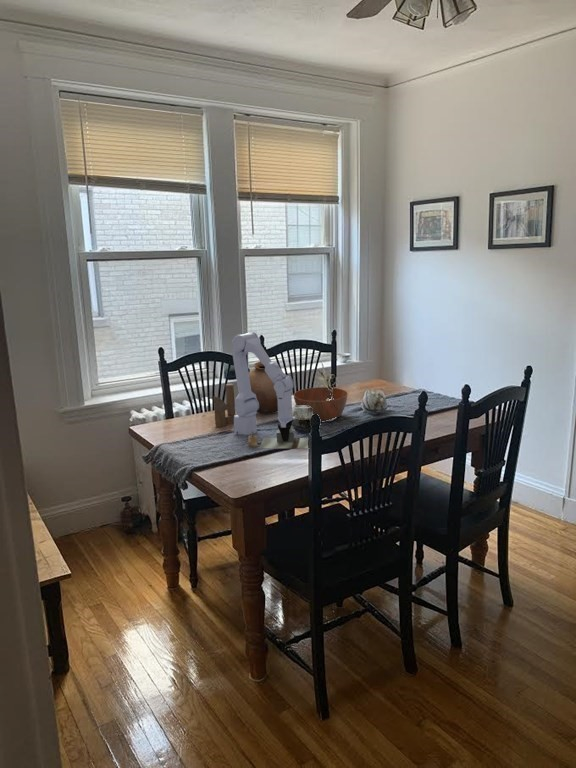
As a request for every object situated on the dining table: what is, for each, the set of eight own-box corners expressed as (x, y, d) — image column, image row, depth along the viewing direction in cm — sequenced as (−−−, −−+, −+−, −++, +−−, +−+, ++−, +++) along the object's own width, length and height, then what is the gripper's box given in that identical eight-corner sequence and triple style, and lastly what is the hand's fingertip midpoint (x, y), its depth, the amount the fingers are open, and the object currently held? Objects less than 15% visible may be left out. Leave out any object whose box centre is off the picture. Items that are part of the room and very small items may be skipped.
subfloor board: (259, 451, 225) (259, 448, 225) (264, 440, 237) (263, 438, 236) (309, 451, 223) (309, 448, 222) (312, 440, 234) (311, 438, 234)
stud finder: (277, 442, 231) (276, 431, 230) (278, 438, 235) (277, 428, 234) (294, 442, 230) (293, 431, 229) (295, 438, 234) (294, 428, 233)
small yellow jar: (248, 450, 227) (247, 433, 225) (249, 446, 230) (248, 430, 228) (257, 450, 226) (256, 433, 225) (258, 446, 230) (257, 430, 228)
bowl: (351, 410, 274) (350, 387, 271) (344, 427, 250) (344, 401, 247) (300, 409, 279) (299, 386, 277) (289, 425, 256) (288, 400, 253)
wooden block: (215, 426, 258) (212, 387, 254) (232, 420, 266) (229, 382, 262) (220, 427, 256) (218, 389, 252) (237, 421, 264) (235, 383, 260)
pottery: (267, 403, 292) (264, 355, 286) (300, 411, 276) (298, 360, 270) (233, 413, 276) (230, 363, 270) (266, 422, 260) (263, 369, 254)
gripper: (292, 412, 221) (294, 445, 225) (296, 401, 235) (297, 433, 239) (274, 412, 222) (276, 445, 226) (279, 402, 236) (281, 433, 240)
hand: (286, 438), depth 232 cm, fingers closed on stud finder, 4 cm apart
